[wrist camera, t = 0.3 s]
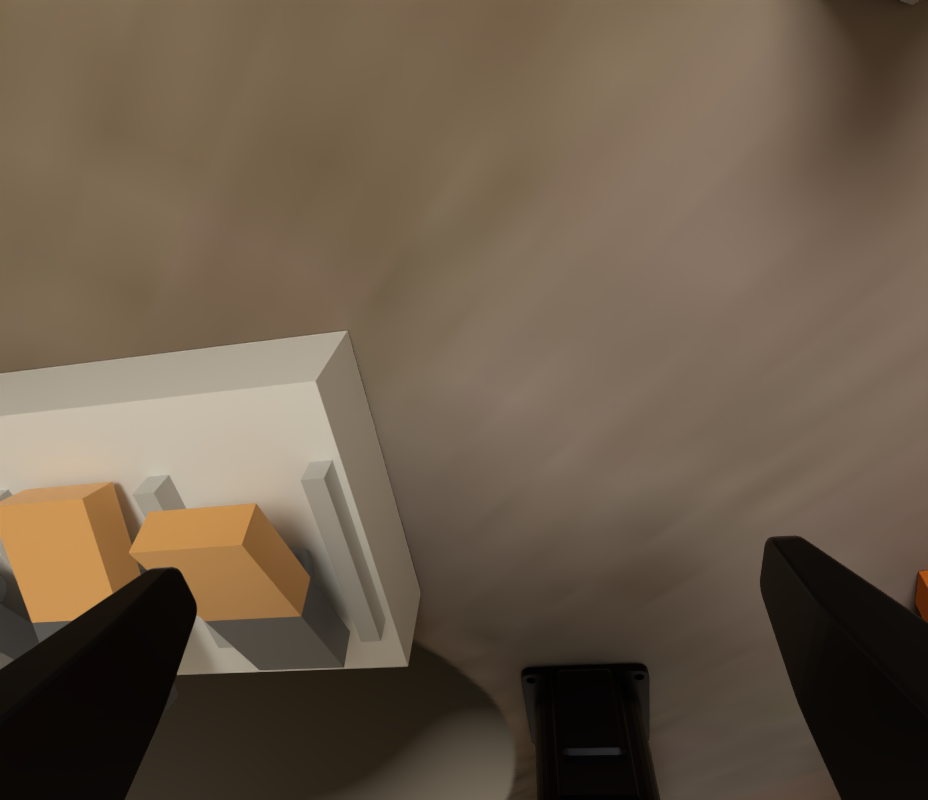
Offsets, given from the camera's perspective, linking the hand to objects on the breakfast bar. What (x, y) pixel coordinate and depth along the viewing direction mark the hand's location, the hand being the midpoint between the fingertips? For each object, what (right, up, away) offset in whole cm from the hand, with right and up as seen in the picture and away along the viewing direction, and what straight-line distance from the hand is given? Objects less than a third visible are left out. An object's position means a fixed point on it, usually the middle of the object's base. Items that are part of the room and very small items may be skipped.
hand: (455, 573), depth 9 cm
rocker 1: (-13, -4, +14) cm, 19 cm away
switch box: (-13, -2, +17) cm, 22 cm away
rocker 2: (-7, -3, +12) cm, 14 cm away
